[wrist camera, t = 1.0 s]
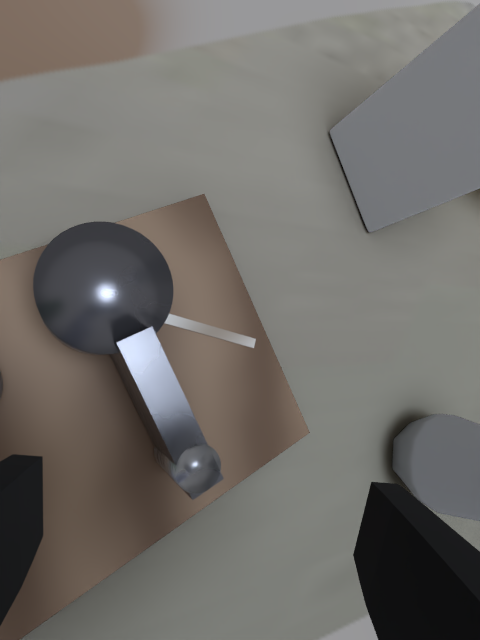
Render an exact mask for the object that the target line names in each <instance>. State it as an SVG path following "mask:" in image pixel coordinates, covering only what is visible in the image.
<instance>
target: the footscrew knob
mask: <svg viewBox="0 0 480 640" xmlns="http://www.w3.org/2000/svg"><path fill="white" fill-rule="evenodd" d="M33 291H34V298H35V302H36V306H37V308H38V311H39V313H40V316H41V318H42V321H43V323H44V324H45V326H46V328H47V329H48V330H49V332H50V333H51V334H52V335H53V336H54V337H55V338H56V339H57V340H58V341H60V342H61V343H62V344H64V345H65V346H67V347H69V348H71V349H73V350H76V351H78V352H82V353H85V354H92V355H106V354H110V356H111V358H112V360H113V363H114V365H115V367H116V369H117V371H118V373H119V375H120V377H121V379H122V381H123V383H124V385H125V387H126V389H127V391H128V393H129V395H130V397H131V399H132V402H133V404H134V406H135V408H136V410H137V412H138V414H139V416H140V418H141V420H142V422H143V424H144V426H145V428H146V430H147V432H148V434H149V436H150V438H151V440H152V443H153V445H154V456H155V459H156V461H157V463H158V464H159V465H160V466H161V467H162V468H163V469H164V470H165V471H166V472H167V473H168V475H169V476H170V477H171V478H172V479H173V480H174V481H175V482H176V483H177V484H178V485H179V487H180V488H181V489H182V490H183V491H184V492H185V493H186V494H187V495H188V496H189V497H190V498H191V499H192V500H194V499H195V498H197V497H198V496H200V495H201V494H203V493H204V492H206V491H207V490H208V489H210V488H211V487H213V486H214V485H216V484H217V483H219V482H220V481H221V480H223V479H224V478H223V476H222V473H221V461H220V457H219V455H218V453H217V452H216V451H215V450H214V449H213V448H212V447H210V446H209V445H208V444H207V442H206V440H205V437H204V435H203V433H202V431H201V429H200V427H199V425H198V423H197V420H196V418H195V416H194V414H193V412H192V410H191V408H190V406H189V404H188V401H187V399H186V397H185V395H184V393H183V391H182V389H181V387H180V384H179V382H178V380H177V378H176V376H175V374H174V372H173V370H172V368H171V365H170V363H169V361H168V359H167V357H166V355H165V353H164V351H163V348H162V346H161V344H160V342H159V340H158V338H157V336H156V333H157V332H158V331H159V330H160V328H161V327H162V326H163V324H164V323H165V321H166V319H167V317H168V315H169V313H170V310H171V306H172V302H173V279H172V275H171V271H170V269H169V266H168V264H167V262H166V260H165V258H164V256H163V255H162V253H161V252H160V251H159V249H158V248H157V247H156V246H155V245H154V244H153V243H152V242H151V241H150V240H149V239H148V238H146V237H145V236H144V235H142V234H141V233H139V232H137V231H135V230H133V229H132V228H129V227H126V226H124V225H120V224H116V223H111V222H90V223H84V224H80V225H77V226H74V227H72V228H69V229H68V230H66V231H64V232H62V233H61V234H59V235H58V236H57V237H55V238H54V239H53V240H52V241H51V242H50V243H49V244H48V245H47V247H46V248H45V249H44V251H43V252H42V254H41V256H40V258H39V260H38V262H37V265H36V268H35V272H34V277H33Z"/></svg>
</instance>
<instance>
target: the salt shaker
mask: <svg viewBox="0 0 480 640" xmlns="http://www.w3.org/2000/svg"><path fill="white" fill-rule="evenodd" d="M392 469H393V470H394V471H395V472H396V474H397V475H398V476H399V477H400V478H401V480H402V481H403V482H404V483H405V485H406V486H407V487H408V488H409V490H410V491H411V492H412V493H413V495H414V496H415V497H416V498H417V499H418V500H419V501H420V502H422V503H423V504H425V505H426V506H428V507H429V508H431V509H432V510H434V511H436V512H438V513H442V514H447V515H452V516H457V517H462V518H467V519H472V520H477V521H480V424H477V423H475V422H472V421H469V420H466V419H464V418H461V417H458V416H455V415H447V414H433V415H430V416H427V417H425V418H422V419H419V420H416V421H414V422H411V423H409V424H408V425H407V426H406V427H405V428H404V429H403V430H402V431H401V432H400V433H399V434H398V435H397V436H396V437H395V438H394V440H393V461H392Z"/></svg>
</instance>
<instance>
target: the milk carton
mask: <svg viewBox="0 0 480 640" xmlns="http://www.w3.org/2000/svg"><path fill="white" fill-rule="evenodd" d="M330 135H331V138H332V140H333V143H334V146H335V148H336V151H337V153H338V156H339V158H340V161H341V164H342V166H343V169H344V171H345V174H346V176H347V179H348V182H349V184H350V187H351V189H352V192H353V195H354V197H355V200H356V202H357V205H358V207H359V210H360V213H361V215H362V218H363V220H364V223H365V225H366V228H367V230H368V232H374V231H376V230H379V229H381V228H384V227H386V226H388V225H391V224H393V223H396V222H398V221H401V220H403V219H406V218H408V217H411V216H413V215H416V214H418V213H421V212H423V211H426V210H428V209H430V208H433V207H435V206H438V205H440V204H443V203H445V202H448V201H450V200H453V199H455V198H458V197H460V196H463V195H465V194H467V193H470V192H472V191H475V190H477V189H480V4H479V5H477V6H476V7H475V8H474V9H473V10H472V11H470V12H469V13H468V14H467V15H466V16H464V17H463V18H462V19H461V20H460V21H458V22H457V23H456V24H455V25H454V26H453V27H451V28H450V29H449V30H448V31H447V32H445V33H444V34H443V35H442V36H441V37H440V38H438V39H437V40H436V41H435V42H434V43H432V44H431V45H430V46H429V47H428V48H426V49H425V50H424V51H423V52H422V53H421V54H419V55H418V56H417V57H416V58H415V59H413V60H412V61H411V62H410V63H409V64H407V65H406V66H405V67H404V68H403V69H402V70H400V71H399V72H398V73H397V74H396V75H394V76H393V77H392V78H391V79H390V80H388V81H387V82H386V83H385V84H384V85H383V86H381V87H380V88H379V89H378V90H377V91H375V92H374V93H373V94H372V95H371V96H369V97H368V98H367V99H366V100H365V101H364V102H362V103H361V104H360V105H359V106H358V107H356V108H355V109H354V110H353V111H352V112H350V113H349V114H348V115H347V116H346V117H345V118H343V119H342V120H341V121H340V122H339V123H337V124H336V125H335V126H334V127H333V128H332V129H331V130H330Z"/></svg>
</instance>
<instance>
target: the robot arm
mask: <svg viewBox="0 0 480 640" xmlns="http://www.w3.org/2000/svg"><path fill="white" fill-rule="evenodd" d="M42 538H43V456H30V455H17V454H12V455H11V456H9V457H7V458H5V459H4V460H2V461H0V626H1V624H2V622H3V620H4V618H5V617H6V615H7V613H8V611H9V609H10V607H11V606H12V604H13V602H14V600H15V598H16V596H17V595H18V593H19V591H20V589H21V587H22V585H23V583H24V580H25V578H26V576H27V573H28V571H29V569H30V567H31V564H32V562H33V560H34V557H35V555H36V552H37V550H38V547H39V545H40V543H41V540H42ZM353 556H354V560H355V564H356V568H357V572H358V576H359V581H360V585H361V588H362V592H363V596H364V600H365V603H366V607H367V609H368V612H369V615H370V618H371V620H372V623H373V626H374V629H375V631H376V634H377V637H378V640H480V552H479V551H478V550H477V549H476V548H475V547H473V546H472V545H471V544H470V543H469V542H467V541H466V540H465V539H464V538H463V537H461V536H460V535H459V534H458V533H457V532H455V531H454V530H453V529H452V528H451V527H450V526H448V525H447V524H446V523H445V522H444V521H442V520H441V519H440V518H439V517H438V516H437V515H435V514H434V513H433V512H432V511H431V510H429V509H428V508H427V507H426V506H425V505H423V504H422V503H421V502H420V501H419V500H417V499H416V498H415V497H414V496H413V495H411V494H410V493H409V492H408V491H406V490H405V489H404V488H402V487H401V486H400V485H398V484H391V483H378V482H371V486H370V490H369V494H368V498H367V502H366V506H365V510H364V514H363V518H362V522H361V526H360V530H359V534H358V538H357V542H356V546H355V550H354V554H353Z"/></svg>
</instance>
